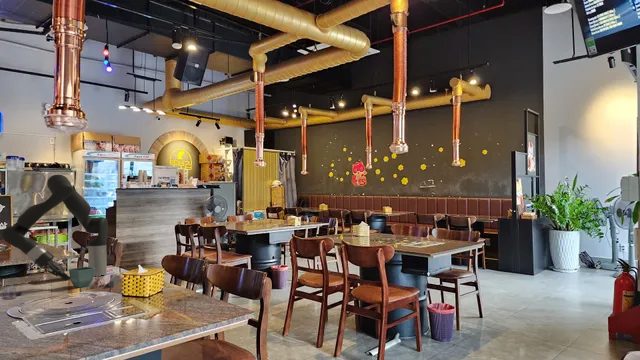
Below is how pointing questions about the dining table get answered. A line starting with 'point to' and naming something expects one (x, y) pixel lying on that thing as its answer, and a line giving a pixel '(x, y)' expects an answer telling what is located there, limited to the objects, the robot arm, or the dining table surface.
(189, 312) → the dining table surface
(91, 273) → the flower pot
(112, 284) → the bumper bar
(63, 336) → the dining table surface
